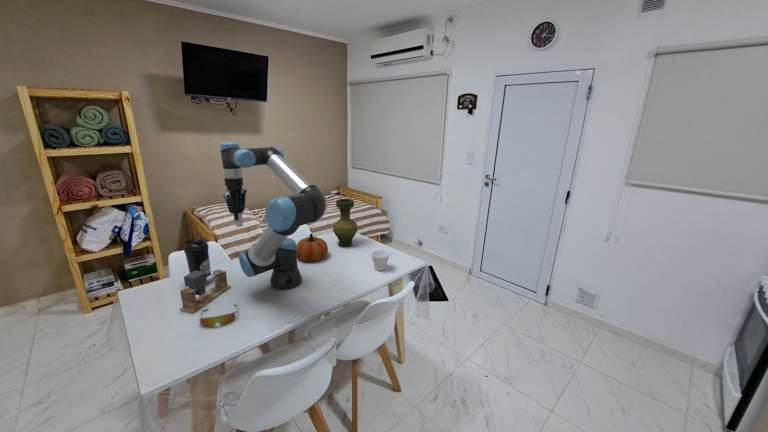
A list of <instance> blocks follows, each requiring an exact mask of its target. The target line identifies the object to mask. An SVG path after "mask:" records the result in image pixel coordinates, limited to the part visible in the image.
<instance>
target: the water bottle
mask: <svg viewBox="0 0 768 432" xmlns="http://www.w3.org/2000/svg"><path fill="white" fill-rule="evenodd" d="M209 246H210V245H209V243H207V241H205V239H204V238H200V239H199V238H198V239H196V238H195V237H191V238H189V239H187V240H185V244H184V246H183V252H184V254H185V259H186V262H187V268H188V271H189V274H190V273H191V272H193V271H195V270H196V271H202V272H206V277H208V276H210V275H211V274H212V273H211V272H212V271H211V264H210V263H211V262H210V261H211V260H210V254H209Z"/></svg>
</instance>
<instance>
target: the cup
mask: <svg viewBox="0 0 768 432" xmlns="http://www.w3.org/2000/svg"><path fill="white" fill-rule="evenodd" d="M370 256H371V258H372V263H373V267H374V270H375V271H378V272H383V271H385V270H386V268H387V265H388V260H389V258H390V252H389V251H387V250H383V249H376V250H374V251H372V252H371V254H370Z"/></svg>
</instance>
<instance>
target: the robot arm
mask: <svg viewBox="0 0 768 432" xmlns="http://www.w3.org/2000/svg"><path fill="white" fill-rule="evenodd" d="M239 145H240V144H239V143H238V142H235V141H232V142H231V141H229V142H228V141H225V142H221V143H220V145H219V146H220V147H219V148H220V156H221V162H222V163H221V164H222V171H223V177H224V186H225V187H226V188H227V189H226V193H225V194H223V195H222V197H223V198H224V200H225V203H226V205H227V208H228V211H229V214H233V218H234V219H233V220H234V224H235V227H237V228H241V227H243V225H244V224H243V214H244V212H245V210H246V195H247V192H248V191H247V189H244V188H243V186H244V180H243V170H242V168H243V169H245V168H247V169H249V168H251V167H255V166H267V167H268V168H269V169H270V170H271V172H272V173H274V175H276V176H277V178H279V180H280V181H281V182H282V183H283V184H284V185H285V186H286V187H287V188H288V189H289V190H290V191H291V193H293V195H288V196H279V197H277V198H273V199H271V200H270V201H269V202H268V203H267V204H266V207H265V210H264V211H265V214H264V216H265V221H266V222H265V223H266V224H267V226H266V227H265V229H264V231H263V233H262V234H261V236H260V238H259V239H258V241H257V242H255V243H253V244H252V245H251V246H250V247H249V249H248V250H246V251H242V252H240V253H239V255H238V261H239V264H240V268H241V270H242V272H243V274H244V275H245V276H246V277H248V278H251V277H252V278H253V277H256V276H258V275H261V274H263V273H267V272H270V271H272V272H271V276H270V280H269V281H270V287H271V288H272V289H275V290H279V291H285V290H291V289H295V288H297V287H299V286H300V285H301V284H302V282H303V277H302V274H301V272H300V269H299V268H298V258H297V250H296V249H297V248H296V245H297V243H296V240H295V239H293V238H291V237H290V238H289V237H288V236H291V235H294V234H295V233H296V232H297V230H298V229H299V228H300V227H301V226H304V225H308V224H312V223H315V222H318V220H320V219H321V218H322V217H323V216H324V214H325V213H326V210H327V200H326V197H325V195H324V193H323V191H322V190H321V189H320V188H319V187H318V186H317V185H315V184H311V183H310V182H309V181H308V180H307V179H306V178H304V176H303V175H301V173H300V172H299V171H298V170H296V169H295V168H294V167H293V166H292V165H291V163H289V162H288V161H287V160H286V159H285V157H284V156H285V155H284V152H283V150H282V148H280V147H278V146H277V147H276V146H275V147H274V146H269V147H252V148H251V147H250V148H248V147H247V148H240V146H239Z"/></svg>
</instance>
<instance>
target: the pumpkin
mask: <svg viewBox="0 0 768 432" xmlns="http://www.w3.org/2000/svg"><path fill="white" fill-rule="evenodd" d="M296 248H297V249H296V250H297V259H299V260H301V261H304V262H318V261H319V260H322V259H324V258H325V257H326V256H327V254H328V251H329V246H328V243H327V242H326V240H324V239H323V238H320V237H317V236H314V235H313V233H310V234H309V236H308V237H305V238H302V239H300V240H299V241H298V242H297V243H296Z"/></svg>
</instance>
